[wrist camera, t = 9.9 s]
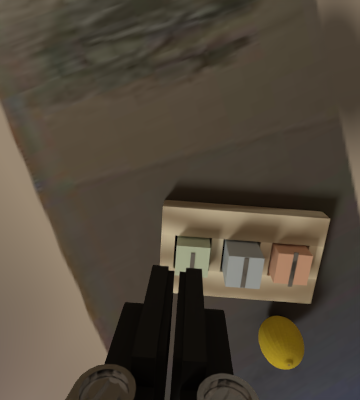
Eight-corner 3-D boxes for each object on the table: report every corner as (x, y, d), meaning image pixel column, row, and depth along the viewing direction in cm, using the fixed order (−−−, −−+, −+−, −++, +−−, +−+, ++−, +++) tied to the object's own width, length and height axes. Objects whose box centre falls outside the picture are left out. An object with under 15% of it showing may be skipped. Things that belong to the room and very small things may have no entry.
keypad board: (164, 199, 40) (163, 206, 38) (322, 211, 40) (330, 218, 38) (160, 281, 44) (158, 291, 42) (304, 292, 44) (310, 303, 41)
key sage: (178, 230, 41) (176, 245, 37) (208, 232, 41) (210, 248, 37) (176, 257, 43) (174, 275, 38) (206, 259, 43) (207, 278, 38)
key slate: (225, 239, 40) (229, 256, 35) (257, 241, 40) (265, 259, 35) (221, 267, 41) (225, 287, 37) (252, 269, 41) (259, 289, 37)
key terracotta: (270, 235, 41) (279, 251, 37) (301, 237, 41) (314, 254, 37) (265, 266, 42) (273, 285, 38) (295, 268, 42) (306, 288, 38)
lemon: (290, 301, 44) (311, 344, 37) (294, 333, 46) (314, 380, 38) (251, 306, 45) (263, 349, 37) (256, 338, 47) (268, 385, 39)
